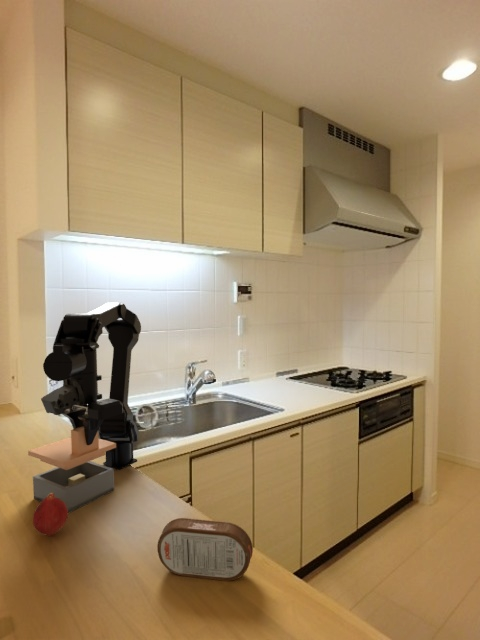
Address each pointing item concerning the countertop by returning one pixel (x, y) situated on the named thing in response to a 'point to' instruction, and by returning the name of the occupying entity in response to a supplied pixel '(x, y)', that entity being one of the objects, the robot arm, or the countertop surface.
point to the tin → (205, 549)
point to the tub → (75, 484)
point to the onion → (50, 515)
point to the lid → (72, 450)
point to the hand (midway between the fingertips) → (85, 443)
